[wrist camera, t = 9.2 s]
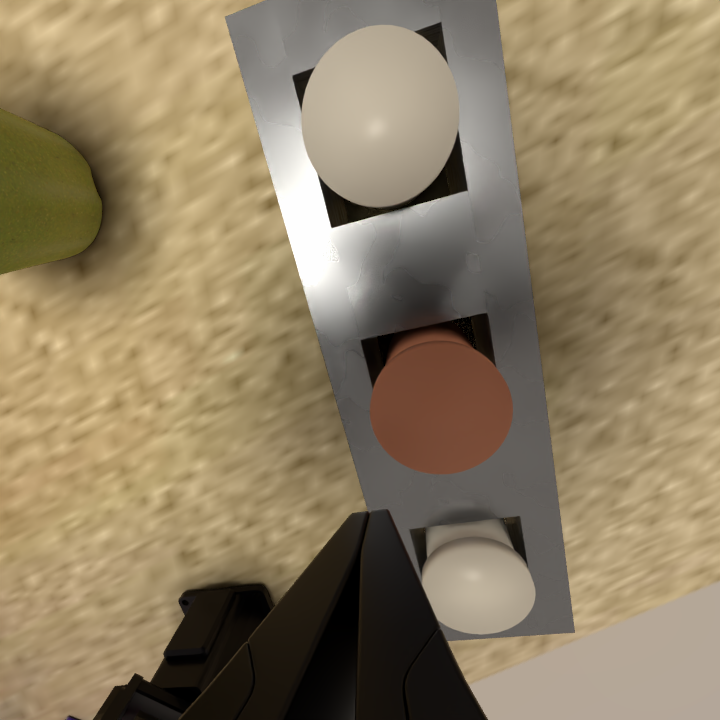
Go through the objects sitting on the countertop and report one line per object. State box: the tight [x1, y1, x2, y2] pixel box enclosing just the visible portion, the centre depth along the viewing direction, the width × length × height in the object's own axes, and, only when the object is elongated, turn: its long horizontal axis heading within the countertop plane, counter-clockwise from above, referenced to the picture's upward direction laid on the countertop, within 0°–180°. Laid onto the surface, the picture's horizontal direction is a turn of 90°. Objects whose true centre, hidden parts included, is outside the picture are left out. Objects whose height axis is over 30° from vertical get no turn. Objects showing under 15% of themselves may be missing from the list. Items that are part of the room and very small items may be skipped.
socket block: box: [225, 0, 575, 641], centre depth 17 cm, size 27×8×5 cm, turn 14°
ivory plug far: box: [422, 518, 536, 634], centre depth 19 cm, size 5×5×6 cm
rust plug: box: [370, 321, 513, 474], centre depth 15 cm, size 5×5×6 cm
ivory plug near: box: [301, 25, 459, 210], centre depth 14 cm, size 5×5×6 cm
